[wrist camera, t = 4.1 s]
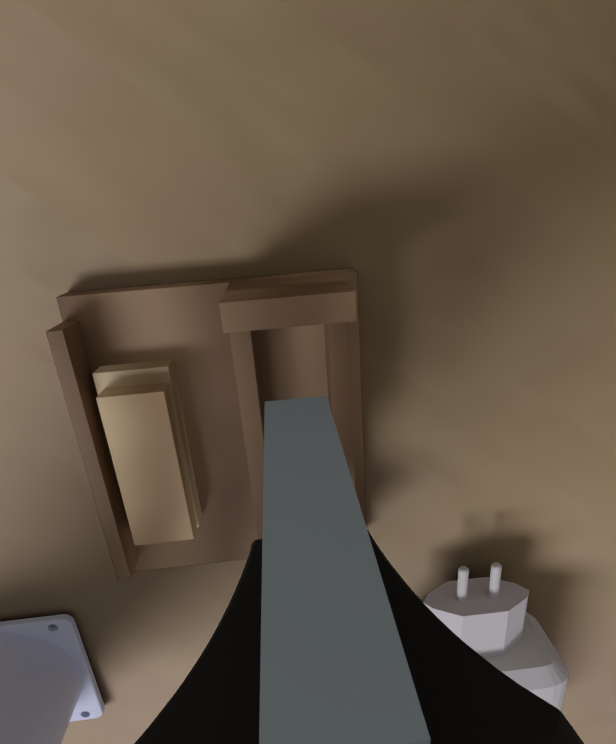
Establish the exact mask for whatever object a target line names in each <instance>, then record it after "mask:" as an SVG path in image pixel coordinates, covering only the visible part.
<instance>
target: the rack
mask: <svg viewBox="0 0 616 744" xmlns="http://www.w3.org/2000/svg"><path fill="white" fill-rule="evenodd" d="M56 298H57V301H58V305H59V309H60V312H61V316H62V320H63V322H62V323H60V324H59V325H57V326H55V327H53V328H52V329H50V330H48V331H46V334H47V338H48V341H49V345H50V348H51V352H52V355H53V358H54V362H55V365H56V369H57V372H58V376H59V379H60V383H61V386H62V389H63V393H64V396H65V400H66V403H67V407H68V410H69V414H70V417H71V420H72V424H73V427H74V431H75V434H76V438H77V441H78V445H79V448H80V451H81V455H82V458H83V462H84V465H85V469H86V472H87V476H88V479H89V483H90V486H91V489H92V493H93V496H94V500H95V503H96V507H97V510H98V514H99V517H100V520H101V524H102V527H103V531H104V534H105V538H106V541H107V545H108V548H109V551H110V555H111V558H112V562H113V565H114V569H115V572H116V576H117V579H118V580H123V579H131V577H132V574H133V572H136V571H145V570H154V569H162V568H171V567H180V566H188V565H197V564H206V563H214V562H223V561H231V560H240V559H248V556H249V553H250V549H251V545H252V543H253V542H254V541H255V540H257V539H262V536H263V474H264V413H265V402H266V401H276V400H286V399H296V398H306V397H316V396H327V399H328V402H329V405H330V409H331V412H332V415H333V419H334V422H335V425H336V429H337V432H338V435H339V438H340V442H341V445H342V448H343V452H344V455H345V458H346V462H347V465H348V468H349V471H350V475H351V478H352V481H353V485H354V488H355V491H356V495H357V498H358V501H359V504H360V508H361V511H362V514H363V518H364V521H365V524H366V516H365V486H364V455H363V424H362V394H361V363H360V333H359V302H358V272H357V271H356V270H355V269H354V268H349V269H337V270H325V271H314V272H302V273H290V274H278V275H267V276H255V277H243V278H232V279H220V280H208V281H196V282H185V283H173V284H161V285H150V286H138V287H126V288H114V289H103V290H91V291H79V292H68V293H65V294H63V295H60V296H58V297H56ZM171 359H172V360H173V365H174V370H175V376H176V381H177V386H178V391H179V397H180V402H181V407H182V412H183V418H184V423H185V428H186V433H187V438H188V444H189V449H190V454H191V459H192V465H193V470H194V475H195V480H196V486H197V491H198V496H199V501H200V507H201V512H202V517H201V521H200V526H199V527H196V531H195V536H194V539H189V540H180V541H172V542H163V543H154V544H145V545H136V546H135V544H134V540H133V537H132V533H131V529H130V525H129V521H128V518H127V514H126V510H125V506H124V502H123V499H122V495H121V491H120V487H119V483H118V480H117V476H116V472H115V468H114V464H113V461H112V457H111V453H110V449H109V446H108V442H107V438H106V434H105V430H104V427H103V423H102V419H101V415H100V411H99V408H98V404H97V400H96V397H97V396H98V394H97V390H96V386H95V382H94V378H93V375H92V374H93V373H94V372H95V371H96V370H97V369H98V368H99V367H100V366H107V365H118V364H128V363H139V362H150V361H160V360H171Z"/></svg>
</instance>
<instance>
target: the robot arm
mask: <svg viewBox="0 0 616 744" xmlns="http://www.w3.org/2000/svg"><path fill="white" fill-rule="evenodd" d="M367 531H368V530H367ZM368 534H369V537H370V541H371V544H372V547H373V551H374V554H375V557H376V561H377V564H378V567H379V570H380V574H381V577H382V580H383V584H384V587H385V590H386V594H387V597H388V600H389V604H390V607H391V610H392V613H393V617H394V620H395V623H396V627H397V630H398V633H399V637H400V640H401V643H402V646H403V650H404V653H405V656H406V660H407V663H408V666H409V670H410V673H411V676H412V679H413V683H414V686H415V689H416V693H417V696H418V699H419V703H420V706H421V709H422V712H423V716H424V719H425V722H426V726H427V729H428V732H429V736H430V739H431V743H430V744H584V743H583V741H582V740H581V739H580V737H579V736H578V734H577V733H576V732H575V730H574V729H573V727H572V726H571V725H570V723H569V722H568V721H567V719H566V718H565V716H564V715H563V714H562V712H561V711H560V710H559V709H557V708H556V707H554V706H553V705H551V704H550V703H548V702H546V701H545V700H543V699H542V698H540V697H538V696H537V695H535V694H534V693H532V692H530V691H529V690H527V689H526V688H524V687H522V686H521V685H519V684H518V683H517V682H515V681H514V680H512V679H511V678H510V677H508V676H507V675H505V674H504V673H503V672H501V671H500V670H498V669H497V668H496V667H495V666H493V665H492V664H491V663H490V662H488V661H487V660H486V659H485V658H483V657H482V656H481V655H479V654H478V653H477V652H476V651H474V650H473V649H472V648H471V647H469V646H468V645H467V644H466V643H465V642H463V641H462V640H461V639H460V638H459V637H458V636H457V635H456V634H455V633H453V632H452V631H451V630H450V629H449V628H448V627H447V626H446V625H445V624H444V623H443V622H442V621H441V620H440V619H439V618H437V617H436V616H435V615H434V614H433V612H432V611H431V610H430V609H429V608H428V607H427V606H426V605H425V604H424V603H423V602H422V601H421V600H420V599H419V598H418V596H417V595H416V594H415V593H414V592H413V591H412V590H411V589H410V587H409V586H408V585H407V584H406V583H405V581H404V580H403V579H402V578H401V576H400V575H399V574H398V573H397V572H396V570H395V569H394V568H393V566H392V565H391V564H390V563H389V561H388V560H387V558H386V557H385V556H384V554H383V553H382V551H381V550H380V549H379V547H378V546H377V544H376V543H375V541H374V539H373V538H372V536H371V535H370V533H369V531H368ZM261 597H262V539H257V540H255V541H254V542H253V543H252V545H251V549H250V553H249V556H248V559H247V562H246V565H245V568H244V570H243V573H242V576H241V578H240V580H239V583H238V585H237V587H236V590H235V592H234V594H233V597H232V599H231V601H230V603H229V605H228V607H227V609H226V611H225V613H224V615H223V617H222V619H221V621H220V623H219V625H218V627H217V629H216V630H215V632H214V634H213V636H212V638H211V639H210V641H209V643H208V644H207V646H206V648H205V649H204V651H203V653H202V654H201V656H200V658H199V659H198V661H197V662H196V664H195V665H194V667H193V668H192V670H191V671H190V673H189V674H188V676H187V677H186V679H185V680H184V682H183V683H182V684H181V686H180V687H179V689H178V690H177V691H176V693H175V694H174V695H173V697H172V698H171V699H170V701H169V702H168V703H167V704H166V706H165V707H164V708H163V709H162V711H161V712H160V713H159V715H158V716H157V717H156V718H155V720H154V721H153V722H152V723H151V725H150V726H149V727H148V728H147V730H146V731H145V732H144V733H143V734H142V736H141V737H140V738H139V739H138V740H137V741H136V742H135V743H134V744H259V719H260V658H261ZM54 624H55V625H54ZM104 709H105V706H104V703H103V700H102V697H101V694H100V691H99V688H98V686H97V683H96V680H95V677H94V674H93V671H92V668H91V666H90V663H89V660H88V657H87V654H86V651H85V648H84V646H83V643H82V640H81V637H80V634H79V631H78V628H77V625H76V623H75V620H74V618H73V617H72V616H70V615H68V614H61V615H52V616H44V617H35V618H27V619H19V620H10V621H2V622H0V744H61V742H62V740H63V737H64V734H65V732H66V729H67V727H68V724H69V722H71V721H78V720H86V719H94V718H98V717H100V716H102V714H103V712H104Z"/></svg>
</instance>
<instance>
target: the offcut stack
mask: <svg viewBox="0 0 616 744" xmlns="http://www.w3.org/2000/svg"><path fill="white" fill-rule="evenodd" d="M92 375H93V378H94V382H95V386H96V390H97V394H98V396H97V397H96V400H97V404H98V408H99V411H100V415H101V419H102V423H103V427H104V430H105V434H106V438H107V442H108V446H109V449H110V453H111V457H112V461H113V464H114V468H115V472H116V476H117V480H118V483H119V487H120V491H121V495H122V499H123V502H124V506H125V510H126V514H127V518H128V521H129V525H130V529H131V533H132V537H133V540H134V544H135V546H136V545H145V544H154V543H163V542H172V541H180V540H189V539H194V536H195V531H196V527H199V526H200V521H201V517H202V512H201V507H200V501H199V496H198V491H197V486H196V480H195V475H194V470H193V465H192V459H191V454H190V449H189V444H188V438H187V433H186V428H185V423H184V418H183V412H182V407H181V402H180V397H179V391H178V386H177V381H176V376H175V370H174V365H173V360H172V359H171V360H160V361H150V362H139V363H128V364H118V365H107V366H100V367H99V368H98V369H97V370H96V371H95V372H94V373H93V374H92Z"/></svg>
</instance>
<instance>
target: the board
mask: <svg viewBox="0 0 616 744" xmlns="http://www.w3.org/2000/svg"><path fill="white" fill-rule="evenodd" d="M430 743H431V739H430V736H429V732H428V729H427V726H426V722H425V719H424V716H423V712H422V709H421V706H420V703H419V699H418V696H417V693H416V689H415V686H414V683H413V679H412V676H411V673H410V670H409V666H408V663H407V660H406V656H405V653H404V650H403V646H402V643H401V640H400V637H399V633H398V630H397V627H396V623H395V620H394V617H393V613H392V610H391V607H390V604H389V600H388V597H387V594H386V590H385V587H384V584H383V580H382V577H381V574H380V570H379V567H378V564H377V561H376V557H375V554H374V551H373V547H372V544H371V541H370V537H369V534H368V531H367V528H366V524H365V521H364V518H363V514H362V511H361V508H360V504H359V501H358V498H357V495H356V491H355V488H354V485H353V481H352V478H351V475H350V471H349V468H348V465H347V462H346V458H345V455H344V452H343V448H342V445H341V442H340V438H339V435H338V432H337V429H336V425H335V422H334V419H333V415H332V412H331V409H330V405H329V402H328V399H327V396H316V397H306V398H296V399H286V400H276V401H266V402H265V413H264V474H263V536H262V597H261V658H260V719H259V744H430Z"/></svg>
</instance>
